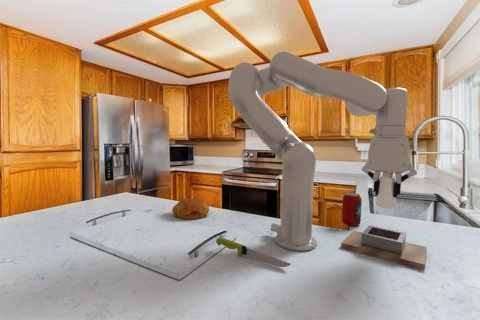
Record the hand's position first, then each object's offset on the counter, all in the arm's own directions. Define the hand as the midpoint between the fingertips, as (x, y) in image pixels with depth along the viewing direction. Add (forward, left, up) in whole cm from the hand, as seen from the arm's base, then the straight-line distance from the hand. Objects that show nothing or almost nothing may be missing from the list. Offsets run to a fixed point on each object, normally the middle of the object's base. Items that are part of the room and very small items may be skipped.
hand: (386, 194), depth 71 cm
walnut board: (0, 0, -16) cm, 16 cm away
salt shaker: (0, 0, -3) cm, 3 cm away
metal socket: (0, 0, -15) cm, 15 cm away
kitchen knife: (-26, -31, -17) cm, 44 cm away
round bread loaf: (-69, -16, -17) cm, 73 cm away
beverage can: (-14, +19, -17) cm, 29 cm away
